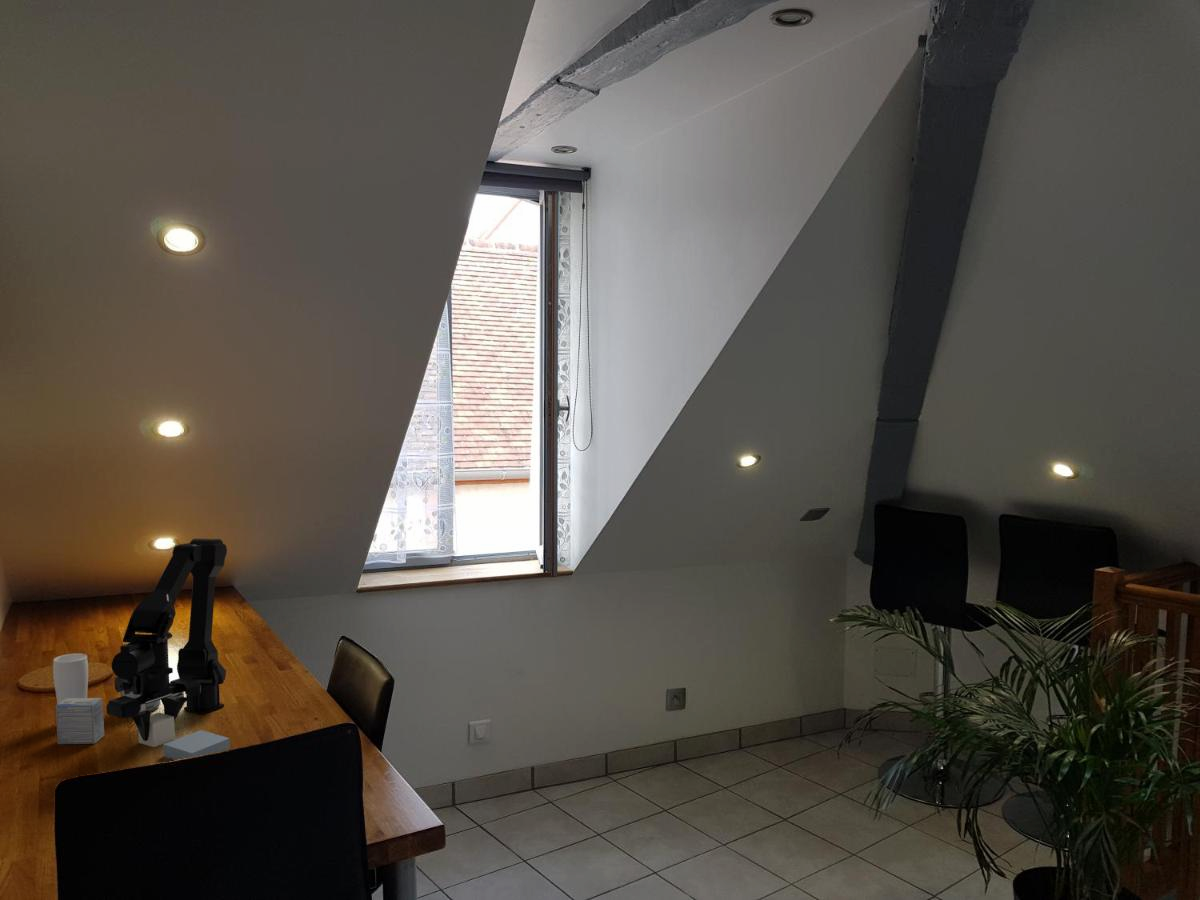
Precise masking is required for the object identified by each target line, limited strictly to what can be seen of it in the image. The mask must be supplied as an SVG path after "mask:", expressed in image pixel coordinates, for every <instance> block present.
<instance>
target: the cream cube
mask: <svg viewBox="0 0 1200 900" xmlns="http://www.w3.org/2000/svg"><path fill="white" fill-rule="evenodd" d="M137 731H138V730H137ZM137 734H138V735H137V737H138V743H139V744H142V745H146V746H149V747H152V748H155V747H158V746H160V745H163V744H165V743H168V742H171V741H173V740H176V738H175V735H176V734H175V722H174V716H170V715H166V714H164V712H157V713H153V714H150V726H149V736H148V740H147V741H144V740H143V739H142V737H141V735H140V733H139V731H138V733H137Z"/></svg>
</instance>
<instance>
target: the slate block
mask: <svg viewBox="0 0 1200 900" xmlns="http://www.w3.org/2000/svg"><path fill="white" fill-rule="evenodd" d="M230 745H231V743H230V738H229V737H226V736H222V735H220V734H216V733H212V732H209V731H206V730H203V729H200V730H198V731H195V732H192V733H190V734H186V735H185V736H182V737H179V738H177V739H176V738H175V739H174V740H172V741H169V742H166V743H164V744H162V746H163V749H162V751H163V757H164V758H167V759H170V758H172V759H171V760H173V761H176V760H177V759H183V758H189V757H195V756H200V755H206V754H211V753H215V752H219V751H223V750H227V749H230V750H231V746H230Z"/></svg>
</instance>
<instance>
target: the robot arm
mask: <svg viewBox="0 0 1200 900" xmlns="http://www.w3.org/2000/svg"><path fill="white" fill-rule="evenodd" d="M227 552H228V548H227V545H226V544H225V543H224V541H223V540H222V539H220V538H192V539H191V540H190V542H189V543H188V542H187V543H179V544H177V545H175V546H174V547H173V549H172V556H171V558H170V560H169V561H168V563H167V565H166V567H165V568H164V570H163V573H162V574H161V576H160V578H159V579H158V581H157V583H156V585H155V587H154V589H153V590H152V592H151V593H150V594H149V595H147V596H146V597H144V598H142V599H141V600H140V601H139V602H138V604H137V606H136V607H135V608H134V609H133V611H132V612H131V615H130V618H129V620H128V622H127V626H126V628H125V629H126V630H125V631H124V635H123V638H122V642H123V643H126V644H122V645H120V646H119V647H120V649H119V650H120V651H119V652H118V653H116V654H115V656H113V659H112V662H111V665H110V666H111V669H112V673H113V674H114V675H115V676H116V677H114V689H115V692H116V693H121V691H124V694H125V695H126V694H129V693H130V692H133V694H135V695H138V694H139V695H140V697H137V698H131V697H128V696H122V697H121V696H120V697H117V698H114V699H110V700H109V701H108V702H107V703H106V714H107V715H109V716H113V717H115V718H119V719H128V718H131V719H132V721H133V722H134V725H135V727H136V728H137V731H139V733H140V735H141V737H142V739H143V740H144V741H147V740H148V736H149V726H150V715H151V713H152V711H151V712H150V711H147V710H146V704H149V703H152V702H155V701H158V700H160V702H161V703H162V705H163V714H166V715H170V716H174V723H175V722H176V721H177V719H178V718H177V717H179V715H180V712H181V710H182V709H183V710H184V711H188V712H192V713H195V714H198V715H203V714H206V713H209V712H213V711H215V710H217V709H218V710H219V709H221V708H223V707H225V704H224V703H222V702H221V701H220V700H221V699H220V685H222V684H224V683H225V681H226V677H227V670H226V669H225V668H224V667H223V665H222V664H221V663H220V662H219V651H218V649H217V648H216V646H215V644H214V643H213V640H212V638H213V637H212V636H213V635H212V634H213V622H214V621H213V620H214V607H215V593H216V592H215V590H216V580H217V579H216V578H217V577H218V575H219V573H220V572H221V570H222V569H223V567H224V566H225V559H226V556H227ZM190 574H191V576H192V589H191V602H190V603H191V604H190V615H189V631H188V639H187V640H188V641H186V644H184V646H183V648H179V650H178V652H177V655H178V657H177V664H176V670H177V671H176V672H177V675H178V678H177V679H173V680H171V681H170V674H173V673H174V669H173V667H170V665H169V644H168V643H169V642H168V640H169V639H171V638H173V634H172V633H171V632H169V631H170V630H171V628H172V626H173V623H174V619H175V618H176V613H177V612H176V609H175V603H176V601H177V599H178V597H179V595H180V593H181V591H182V589H183V587H184V585H185V583H186V581H187V579H188V577H189V576H190ZM185 703H186V706H184V704H185Z"/></svg>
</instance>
